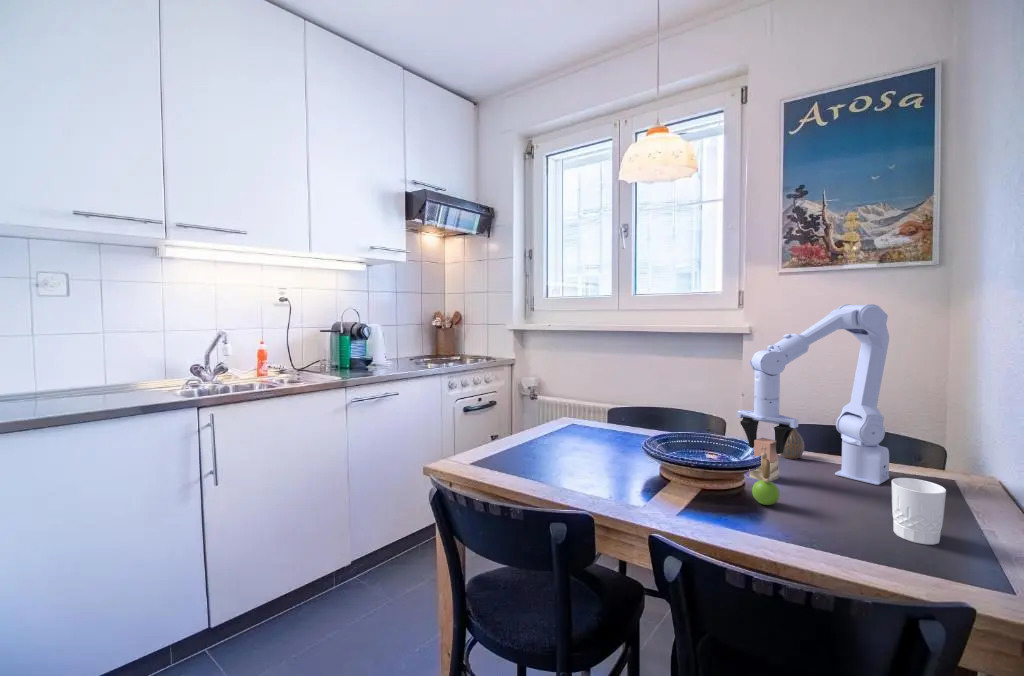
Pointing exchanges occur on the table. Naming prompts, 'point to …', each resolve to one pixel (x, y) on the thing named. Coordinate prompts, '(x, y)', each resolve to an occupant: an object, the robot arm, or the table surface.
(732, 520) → the table surface
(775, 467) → the tower top
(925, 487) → the white cup
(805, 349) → the robot arm
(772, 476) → the tower base
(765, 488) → the snail figurine
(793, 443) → the vase
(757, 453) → the block
